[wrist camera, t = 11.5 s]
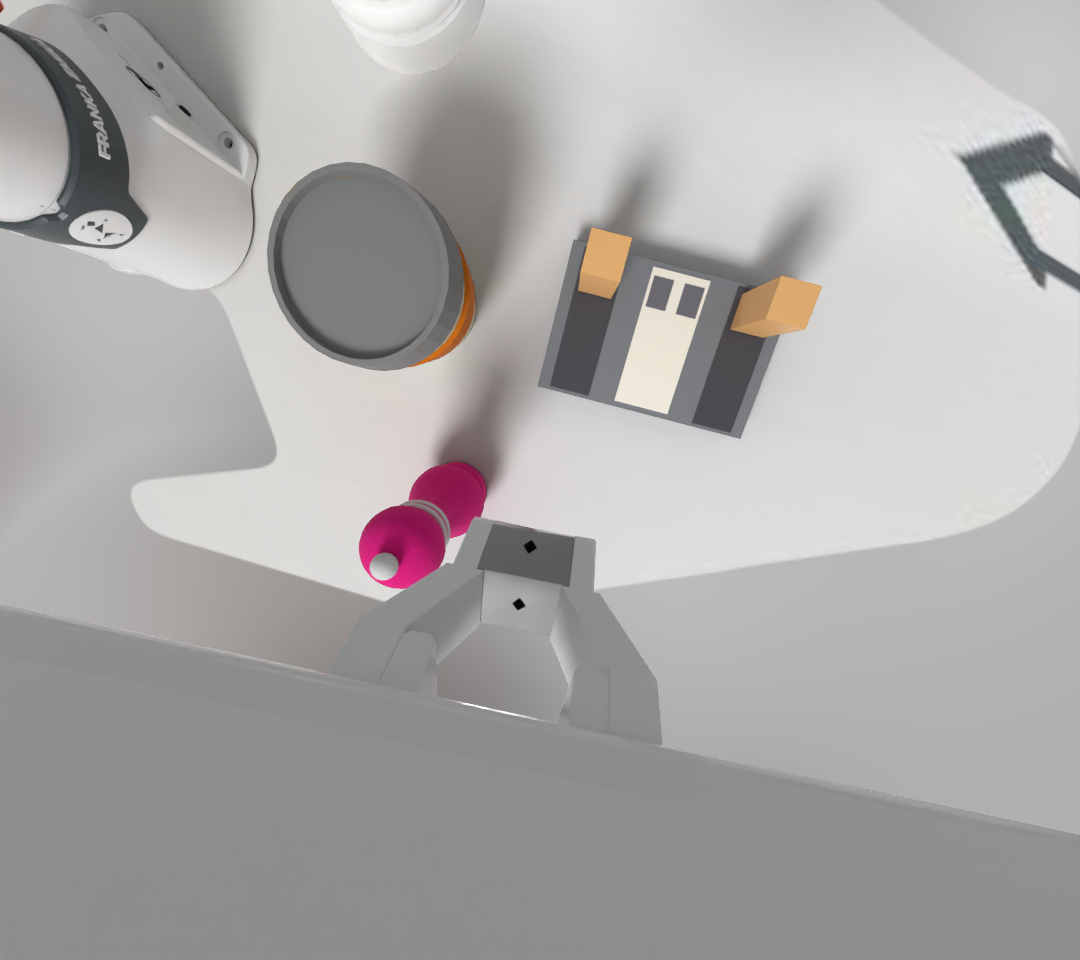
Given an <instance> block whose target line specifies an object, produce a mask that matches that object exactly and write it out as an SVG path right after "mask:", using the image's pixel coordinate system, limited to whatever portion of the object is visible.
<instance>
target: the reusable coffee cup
mask: <svg viewBox="0 0 1080 960" xmlns="http://www.w3.org/2000/svg"><path fill="white" fill-rule="evenodd" d="M267 256H268V272H269V276H270V281H271V285H272V289H273V292H274V295H275V297H276V299H277V302H278V304H279V307H280V309H281V310H282V312H283V314H284V315H285V317H286V319H287V320H288V322H289V323H290V325H291V326H292V327H293V328H294V329H295V331H296V332H297V333H298V334H299V335H300V336H301V337H302V339H304V340H305V341H306V342H307V343H309V344H310V345H311V346H312V347H313V348H315V349H316V350H317V351H319V352H321V353H323V354H325V355H326V356H328V357H330V358H332V359H335V360H338V361H341V362H344V363H347V364H351V365H354V366H358V367H362V368H365V369H371V370H380V371H388V370H397V369H402V368H405V367H414V366H417V365H420V364H423V363H426V362H429V361H432V360H435V359H439V358H441V357H443V356H444V355H446V354H448V353H449V352H451V351H452V350H453V349H454V348H455V347H457V346H458V345H459V344H460V343H462V342H463V341H464V340H465V338H466V337H467V336H468V334H469V333H470V330H471V328H472V326H473V323H474V319H475V313H476V303H475V291H474V283H473V280H472V277H471V274H470V270H469V268H468V265H467V263H466V260H465V258H464V255H463V253H462V251H461V249H460V247H459V245H458V243H457V242H456V240H455V238H454V236H453V234H452V232H451V230H450V228H449V226H448V224H447V222H446V221H445V220H444V218H443V217H442V216H441V215H440V213H439V212H438V211H437V209H436V208H435V207H434V206H433V205H432V204H431V203H430V202H428V201H427V200H426V199H425V198H424V197H423V196H422V195H420V194H419V193H418V192H417V191H416V190H414V189H413V188H412V187H411V186H409V185H408V184H407V183H406V182H404V181H403V180H402V179H400V178H398V177H397V176H395V175H393V174H391V173H390V172H388V171H386V170H384V169H381V168H378V167H375V166H372V165H369V164H364V163H352V162H345V163H338V164H331V165H327V166H325V167H322V168H320V169H317V170H315V171H313V172H311V173H310V174H308V175H307V176H305V177H304V178H303V179H301V180H300V181H298V182H297V183H296V184H295V185H294V186H293V188H292V189H291V190H290V191H289V192H288V193H287V194H286V196H285V197H284V199H283V200H282V202H281V204H280V206H279V208H278V209H277V211H276V213H275V216H274V219H273V222H272V225H271V229H270V232H269V240H268V248H267Z"/></svg>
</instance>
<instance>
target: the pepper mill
mask: <svg viewBox="0 0 1080 960" xmlns="http://www.w3.org/2000/svg"><path fill="white" fill-rule="evenodd" d="M485 499H486V484H485V481H484V479H483V477H482V476H481V474H480V473H479V472H478V471H477V470H476V469H475V468H474V467H472V466H470V465H468V464H466V463H462V462H451V463H447V464H445V465H440V466H435V467H433V468H430V469H429V470H427V471H425V472H424V473H423V474H422V475H421V476H420V477H419V478H418V479H417V480H416V482H415V483H414V484H413V486H412V489H411V492H410V496H409V501H407V502H405V503H403V504H401V505H400V506H394V507H390V508H388V509H385V510H383V511H381V512H380V513H378V514H377V515H375V516H374V517H373V518H372V519H371V520H370V521H369V523H368V524H367V525H366V526H365V528H364V530H363V532H362V535H361V538H360V543H359V554H360V559H361V562H362V565H363V567H364V569H365V570H366V571H367V573H368V574H369V575H370V576H371V577H372V578H373V579H374V580H375V581H377V582H378V583H380V584H382V585H385V586H387V587H391V588H399V589H405V588H408V587H410V586H411V585H413V584H414V583H416V582H418V581H419V580H421V579H422V578H424V577H426V576H427V575H429V574H430V573H432V572H434V571H435V570H437V569H438V568H439V567H440V565H441V563H442V561H443V558H444V555H445V547H446V546H447V544H448V542H449V539H450V538H454V537H457V536H460V535H462V534H464V533H466V532H467V531H468V528H469V526H470V524H471V521H472V520H473V519H474V518H475V516H476V517H481V514H482V512H483V507H484V501H485Z"/></svg>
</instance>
